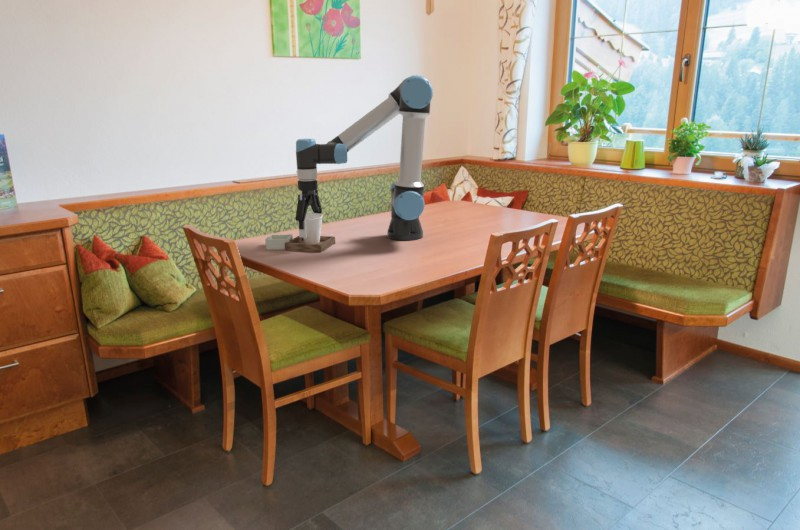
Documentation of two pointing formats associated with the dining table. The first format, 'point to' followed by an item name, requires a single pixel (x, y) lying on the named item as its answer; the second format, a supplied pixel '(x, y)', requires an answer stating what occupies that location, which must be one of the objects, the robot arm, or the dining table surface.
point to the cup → (313, 228)
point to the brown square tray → (299, 244)
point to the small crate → (277, 241)
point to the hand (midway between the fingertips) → (310, 233)
